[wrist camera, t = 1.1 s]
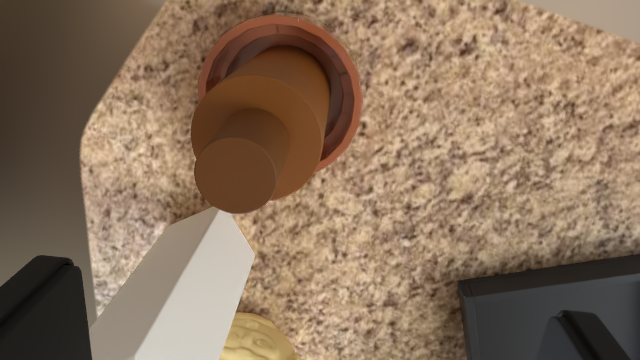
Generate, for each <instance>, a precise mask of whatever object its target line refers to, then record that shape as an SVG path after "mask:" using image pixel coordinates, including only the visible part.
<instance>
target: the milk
mask: <svg viewBox="0 0 640 360" xmlns="http://www.w3.org/2000/svg"><path fill="white" fill-rule="evenodd" d="M254 258H255V254H254V252H253V250H252V249H251V247H250V245H249V244H248V242H247V240H246V239H245V237H244V235H243V233H242V232H241V230H240V228H239V227H238V225H237V223H236V222H235V220H234V218H233V217H232V215H231V213H227V212H224V211H221V210H219V209H217V208H215V207H214V206H213V207H211V208H209V209H206V210H204V211H202V212H199V213H197V214H195V215H192V216H190V217H188V218H185V219H183V220H181V221H178V222H176V223H174V224H171V225H169V226H168V227H167V228H166V229H165V230H164V232H163V233H162V234H161V236H160V237H159V238H158V240H157V241H156V242H155V244H154V245H153V246H152V248H151V249H150V250H149V252H148V253H147V254H146V256H145V257H144V258H143V260H142V261H141V262H140V263H139V265H138V266H137V267H136V269H135V270H134V271H133V273H132V274H131V275H130V277H129V278H128V279H127V281H126V282H125V283H124V285H123V286H122V287H121V289H120V290H119V291H118V293H117V294H116V295H115V297H114V298H113V299H112V301H111V302H110V303H109V304H108V306H107V307H106V308H105V310H104V311H103V312H102V314H101V315H100V316H99V318H98V319H97V320H96V322H95V323H94V324H93V326H92V327H91V328H90V330H89V337H90V345H91V353H92V360H219V359H220V356H221V353H222V350H223V347H224V344H225V341H226V338H227V336H228V333H229V330H230V327H231V324H232V321H233V318H234V315H235V313H236V310H237V307H238V304H239V301H240V298H241V295H242V292H243V289H244V287H245V284H246V281H247V278H248V275H249V272H250V269H251V266H252V263H253V261H254Z"/></svg>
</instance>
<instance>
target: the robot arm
mask: <svg viewBox="0 0 640 360" xmlns="http://www.w3.org/2000/svg"><path fill="white" fill-rule="evenodd" d="M0 360H92V353H91V345H90V337H89V329H88V321H87V313H86V305H85V298H84V289H83V281H82V273H81V270H80V268H79V267H77V266H74V263H73V262H72V260H71V259H69V258H63V257H54V256H45V255H40V256H37V257H35V258H33V259H32V260H31V261H30V262H29V263H28V264H26V265H25V266H24V267H23V268H22V269H21V270H19V271H18V272H17V273H16V274H15V275H14V276H12V277H11V278H10V279H9V280H8V281H7V282H5V283H4V284H3V285H2V286H1V287H0ZM535 360H631V359H630V357H629V356H628V355H627V354H626V352H625V351H624V350H623V348H622V347H621V346H620V344H619V343H618V342H617V340H616V339H615V338H614V337H613V335H612V334H611V333H610V331H609V330H608V329H607V327H606V326H605V325H604V324H603V322H602V321H601V320H600V318H599V317H598V316H597V315H596V314H594V313H591V312H582V311H572V310H561V311H560V312H559V313H558V314H557V316H552V317H550V318H549V320H548V322H547V324H546V327H545V330H544V333H543V336H542V339H541V342H540V345H539V348H538V351H537V354H536V357H535Z"/></svg>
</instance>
